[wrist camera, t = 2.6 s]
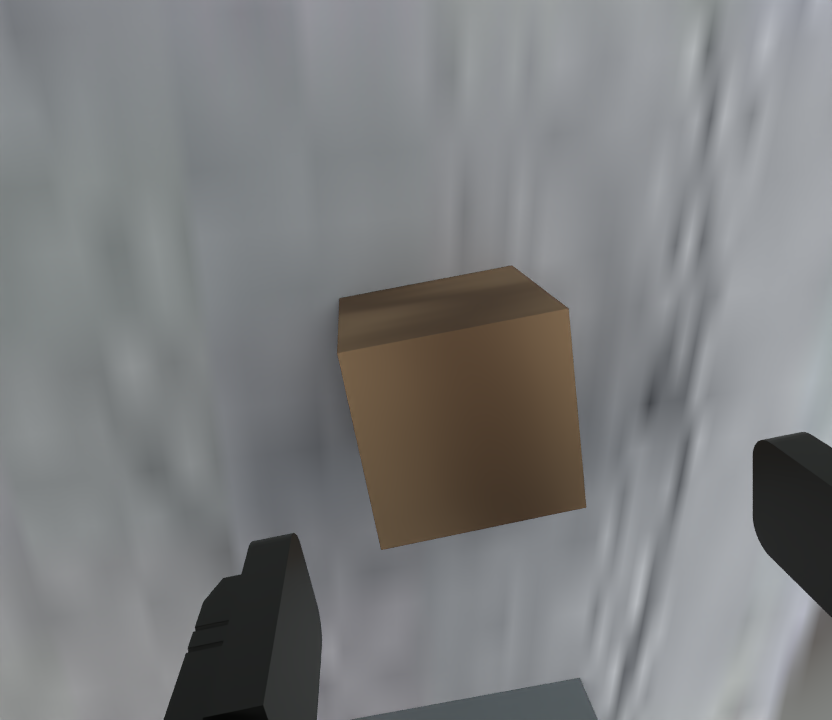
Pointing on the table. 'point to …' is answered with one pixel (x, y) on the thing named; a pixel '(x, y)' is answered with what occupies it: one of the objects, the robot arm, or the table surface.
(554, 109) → the table surface
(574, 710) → the slate base block
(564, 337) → the walnut block
